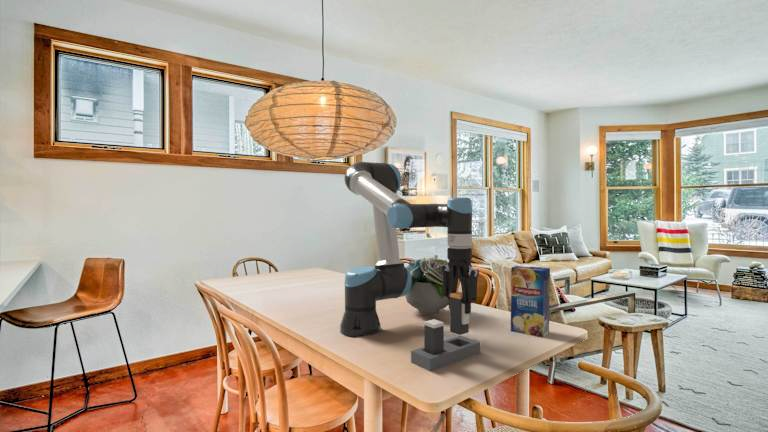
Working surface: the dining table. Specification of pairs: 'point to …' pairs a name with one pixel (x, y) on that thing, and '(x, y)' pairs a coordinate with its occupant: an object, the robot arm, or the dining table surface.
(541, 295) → the juice carton
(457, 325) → the plug
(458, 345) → the grey socket block
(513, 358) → the dining table surface
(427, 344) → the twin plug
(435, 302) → the flower arrangement
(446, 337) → the hard drive
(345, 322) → the robot arm
